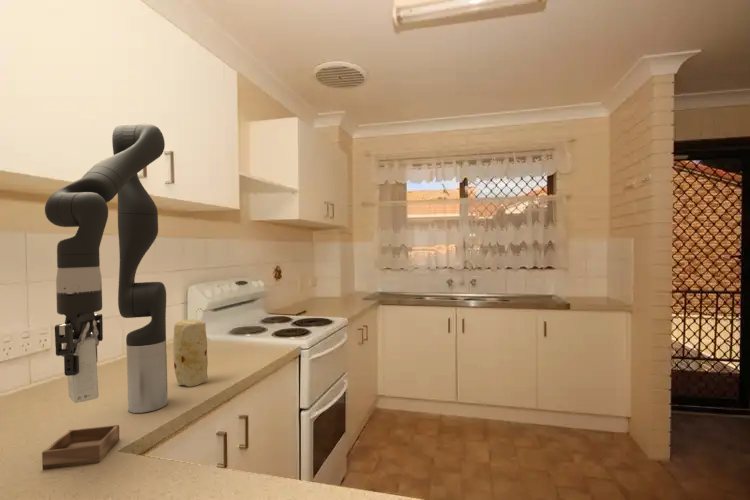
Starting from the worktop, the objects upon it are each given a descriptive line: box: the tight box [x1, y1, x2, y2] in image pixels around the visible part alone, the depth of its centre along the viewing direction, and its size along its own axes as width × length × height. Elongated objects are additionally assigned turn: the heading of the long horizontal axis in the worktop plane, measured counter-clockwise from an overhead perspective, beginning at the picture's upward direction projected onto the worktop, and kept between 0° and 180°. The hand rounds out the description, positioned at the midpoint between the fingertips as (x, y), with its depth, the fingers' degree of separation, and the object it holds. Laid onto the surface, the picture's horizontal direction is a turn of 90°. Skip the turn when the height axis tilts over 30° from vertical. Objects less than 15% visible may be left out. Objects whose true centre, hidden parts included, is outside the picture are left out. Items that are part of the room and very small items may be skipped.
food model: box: [172, 319, 209, 388], centre depth 123 cm, size 10×7×20 cm
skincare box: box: [67, 337, 100, 404], centre depth 82 cm, size 6×4×12 cm
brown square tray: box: [41, 424, 120, 470], centre depth 82 cm, size 10×10×3 cm
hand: (81, 369), depth 82 cm, fingers closed on skincare box, 7 cm apart
